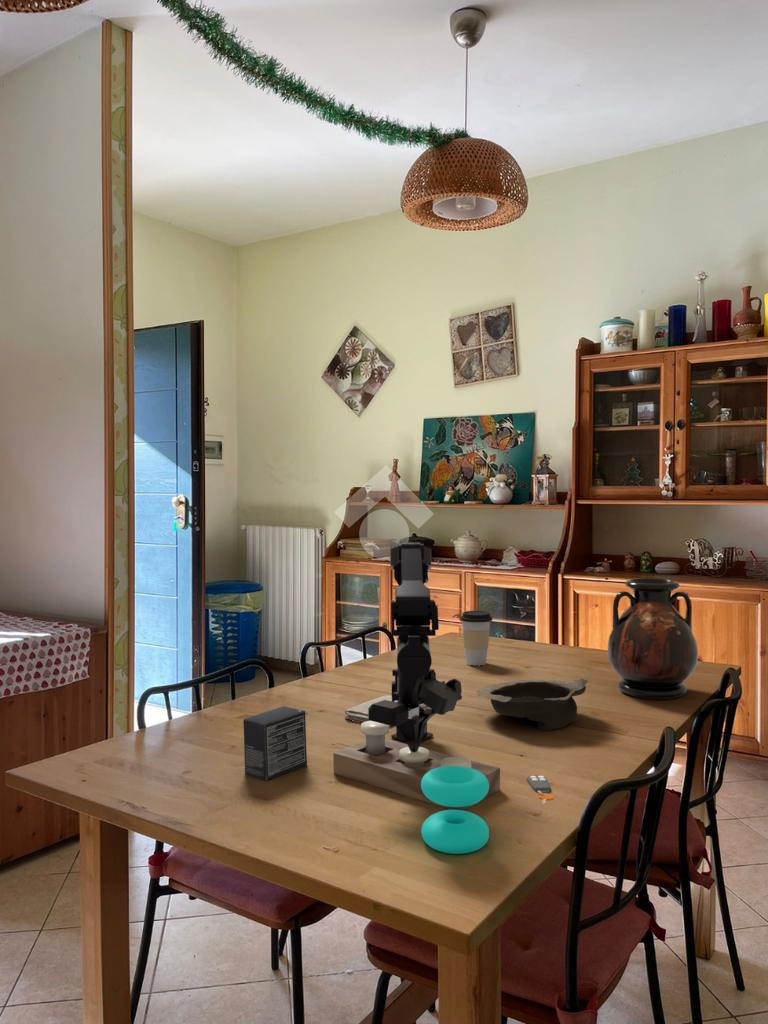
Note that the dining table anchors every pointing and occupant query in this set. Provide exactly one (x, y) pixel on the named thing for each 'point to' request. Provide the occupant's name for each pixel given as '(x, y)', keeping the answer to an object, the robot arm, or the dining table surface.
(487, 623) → the coffee cup
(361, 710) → the washcloth
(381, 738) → the knob
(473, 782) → the donuts
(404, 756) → the knob middle
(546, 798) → the key chain
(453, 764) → the knob
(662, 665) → the amphora vase
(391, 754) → the mount
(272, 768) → the small box
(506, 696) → the stone bowl
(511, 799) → the dining table surface
